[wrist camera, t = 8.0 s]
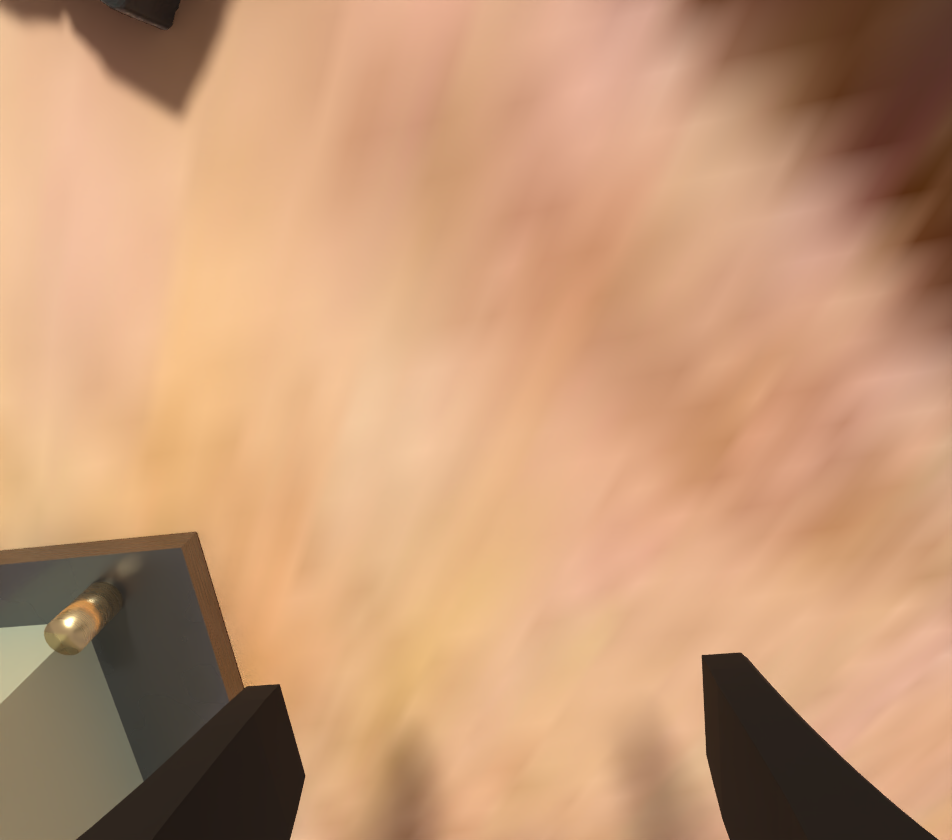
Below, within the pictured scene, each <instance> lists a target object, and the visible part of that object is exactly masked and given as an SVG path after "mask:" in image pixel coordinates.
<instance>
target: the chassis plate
mask: <svg viewBox="0 0 952 840" xmlns="http://www.w3.org/2000/svg"><path fill="white" fill-rule="evenodd" d="M44 624H47V626H46V627H45V630H44V637H45V640H46V642H47V644H48V645H49V646H50V647H51V648H52V649H53V650H55V651H56V652H58V653H60V654H63V655H75V654H78V653H79V652H81V651H82V650H83V649H84V648H85V646H86V645H87V644H88V643H89V642H90V641H92V644H93V647H94V649H95V652H96V655H97V657H98V660H99V663H100V666H101V668H102V671H103V674H104V676H105V679H106V682H107V684H108V687H109V690H110V692H111V695H112V698H113V700H114V703H115V706H116V708H117V711H118V714H119V717H120V719H121V722H122V725H123V727H124V730H125V733H126V735H127V738H128V741H129V743H130V746H131V749H132V751H133V754H134V757H135V759H136V762H137V765H138V768H139V770H140V773H141V776H142V778H143V781H145V780H146V779H147V778H148V777H149V776H150V775H152V774H153V773H154V772H155V771H156V770H157V769H158V768H159V767H160V766H161V765H162V764H163V763H164V762H166V761H167V760H168V759H169V758H170V757H171V756H172V755H173V754H174V753H175V752H176V751H177V750H178V749H180V748H181V747H182V746H183V745H184V744H185V743H186V742H187V741H188V740H189V739H190V738H191V737H192V736H193V735H194V734H196V733H197V732H198V731H199V730H200V729H201V728H202V727H203V726H204V725H205V724H206V723H207V722H208V721H209V720H210V719H211V718H212V717H213V716H215V715H216V714H217V713H218V712H219V711H220V710H221V709H222V708H223V707H224V706H225V705H226V704H227V703H228V702H230V701H231V700H232V699H233V698H234V697H235V696H236V695H237V694H239V693H240V692H241V691H242V690H243V689H244V688H243V685H242V682H241V678H240V675H239V672H238V668H237V665H236V662H235V658H234V655H233V652H232V649H231V645H230V642H229V639H228V635H227V632H226V629H225V625H224V622H223V619H222V615H221V612H220V609H219V606H218V602H217V599H216V596H215V592H214V589H213V586H212V582H211V579H210V576H209V572H208V569H207V566H206V563H205V559H204V556H203V553H202V549H201V546H200V543H199V539H198V536H197V533H196V532H189V533H179V534H169V535H158V536H148V537H138V538H127V539H117V540H107V541H96V542H86V543H76V544H65V545H55V546H45V547H35V548H24V549H14V550H4V551H0V628H6V627H18V626H31V625H44Z"/></svg>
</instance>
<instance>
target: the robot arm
mask: <svg viewBox="0 0 952 840" xmlns="http://www.w3.org/2000/svg"><path fill="white" fill-rule="evenodd" d="M702 671H703V692H704V714H705V735H706V755H707V759H708V763H709V767H710V771H711V775H712V780H713V784H714V788H715V792H716V796H717V799H718V803H719V807H720V811H721V815H722V819H723V822H724V825H725V827H726V830H727V833H728V836H729V839H730V840H938V839H937V838H935V837H934V836H933V835H932V834H930V833H929V832H928V831H927V830H925V829H924V828H923V827H921V826H920V825H919V824H918V823H917V822H915V821H914V820H913V819H912V818H910V817H909V816H908V815H907V814H906V813H904V812H903V811H902V810H901V809H900V808H898V807H897V806H896V805H895V804H894V803H893V802H891V801H890V800H889V799H888V798H887V797H886V796H884V795H883V794H882V793H881V792H880V791H879V790H878V789H877V788H875V787H874V786H873V785H872V784H871V783H870V782H869V781H867V780H866V779H865V778H864V777H863V776H862V775H861V774H860V773H858V772H857V771H856V770H855V769H854V768H853V767H852V766H851V765H850V764H849V763H848V762H847V761H846V760H844V759H843V758H842V757H841V756H840V755H839V754H838V753H837V752H836V751H835V750H834V749H833V748H832V747H831V746H830V745H829V744H828V743H827V742H826V741H825V740H824V739H823V738H822V737H821V736H820V735H819V734H818V733H817V732H816V731H815V730H814V729H813V728H812V727H811V726H809V725H808V723H807V722H806V721H805V720H804V719H803V718H802V717H801V716H800V715H799V714H798V713H797V712H796V711H795V710H794V709H793V708H792V707H791V706H790V705H789V704H788V703H787V702H786V701H785V700H784V698H783V697H782V696H781V695H780V694H779V693H778V692H777V691H776V690H775V689H774V688H773V687H772V685H771V684H770V683H769V682H768V681H767V680H766V679H765V678H764V677H763V675H762V674H761V673H760V672H759V671H758V670H757V669H756V668H755V666H754V665H753V664H752V663H751V662H750V661H749V659H748V658H747V657H745V656H744V655H743V654H742V653H727V654H713V655H702ZM304 779H305V773H304V769H303V766H302V762H301V758H300V755H299V751H298V748H297V744H296V741H295V737H294V734H293V730H292V727H291V723H290V719H289V716H288V712H287V709H286V705H285V702H284V698H283V695H282V691H281V687H280V684H276V685H261V686H247V687H246V688H244V689H243V690H242V691H241V692H240V693H239V694H237V695H236V696H235V697H234V698H233V699H232V700H231V701H230V702H228V703H227V704H226V705H225V706H224V707H223V708H222V709H221V710H220V711H219V712H218V713H217V714H216V715H215V716H213V717H212V718H211V719H210V720H209V721H208V722H207V723H206V724H205V725H204V726H203V727H202V728H201V729H200V730H199V731H198V732H197V733H196V734H194V735H193V736H192V737H191V738H190V739H189V740H188V741H187V742H186V743H185V744H184V745H183V746H182V747H181V748H180V749H178V750H177V751H176V752H175V753H174V754H173V755H172V756H171V757H170V758H169V759H168V760H167V761H166V762H164V763H163V764H162V765H161V766H160V767H159V768H158V769H157V770H156V771H155V772H154V773H153V774H152V775H150V776H149V777H148V778H147V779H146V780H145V781H144V782H143V783H141V784H140V785H139V786H138V787H137V788H136V789H134V790H133V791H132V792H131V793H130V794H129V795H128V796H126V797H125V798H124V799H123V800H122V801H121V802H120V803H118V804H117V805H116V806H115V807H114V808H113V809H111V810H110V811H109V812H108V813H107V814H106V815H105V816H103V817H102V818H101V819H100V820H99V821H98V822H96V823H95V824H94V825H93V826H92V827H91V828H89V829H88V830H87V831H86V832H84V833H83V834H82V835H81V836H80V837H78V838H77V839H76V840H290V837H291V833H292V829H293V825H294V822H295V818H296V814H297V810H298V806H299V801H300V797H301V793H302V788H303V784H304Z"/></svg>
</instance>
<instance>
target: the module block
mask: <svg viewBox="0 0 952 840" xmlns="http://www.w3.org/2000/svg"><path fill="white" fill-rule="evenodd" d="M46 626H47V624H44V625H31V626H18V627H6V628H0V840H76V839H77V838H78V837H80V836H81V835H82V834H83V833H84V832H86V831H87V830H88V829H89V828H91V827H92V826H93V825H94V824H95V823H96V822H98V821H99V820H100V819H101V818H102V817H103V816H105V815H106V814H107V813H108V812H109V811H110V810H111V809H113V808H114V807H115V806H116V805H117V804H118V803H120V802H121V801H122V800H123V799H124V798H125V797H126V796H128V795H129V794H130V793H131V792H132V791H133V790H134V789H136V788H137V787H138V786H139V785H140V784H141V783H143V782H144V781H143V778H142V776H141V773H140V770H139V768H138V765H137V762H136V759H135V757H134V754H133V751H132V749H131V746H130V743H129V741H128V738H127V735H126V733H125V730H124V727H123V725H122V722H121V719H120V717H119V714H118V711H117V708H116V706H115V703H114V700H113V698H112V695H111V692H110V690H109V687H108V684H107V682H106V679H105V676H104V674H103V671H102V668H101V666H100V663H99V660H98V657H97V655H96V652H95V649H94V647H93V644H92V641H90V642H89V643H88V644H87V645H86V646H85V648H84V649H83V650H82V651H81V652H79V653H78V654H75V655H63V654H60V653H58V652H56V651H55V650H53V649H52V648H51V647H50V646H49V645H48V644H47V642H46V640H45V637H44V630H45V627H46Z"/></svg>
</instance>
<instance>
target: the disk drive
mask: <svg viewBox="0 0 952 840" xmlns="http://www.w3.org/2000/svg"><path fill="white" fill-rule="evenodd" d="M100 1H102V2H103V3H104V4H106V5H107V6H109V7H110V8H112V9H114V10H117V11H119V12H120V13H122V14H125V15H128V16H130V17H132V18H135V19H137V20H139V21H143V22H145V23H148V24H150V25H153V26H155V27H157V28H159V29H163V30H167V29H169V28H170V27H171V26H172V24H173V20H174V16H175V11H176V10H177V9H178V8H179V3H180V0H100Z"/></svg>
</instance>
